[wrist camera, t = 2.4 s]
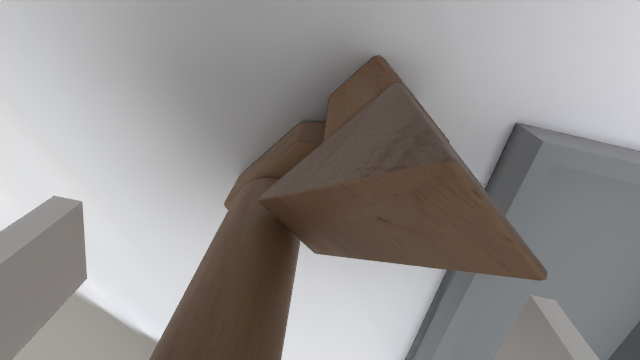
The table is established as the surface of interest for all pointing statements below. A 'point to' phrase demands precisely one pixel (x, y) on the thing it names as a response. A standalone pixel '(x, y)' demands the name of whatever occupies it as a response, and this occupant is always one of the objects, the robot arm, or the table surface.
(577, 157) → the tray
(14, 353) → the robot arm
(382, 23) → the table surface
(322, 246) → the brown tapered wooden part
